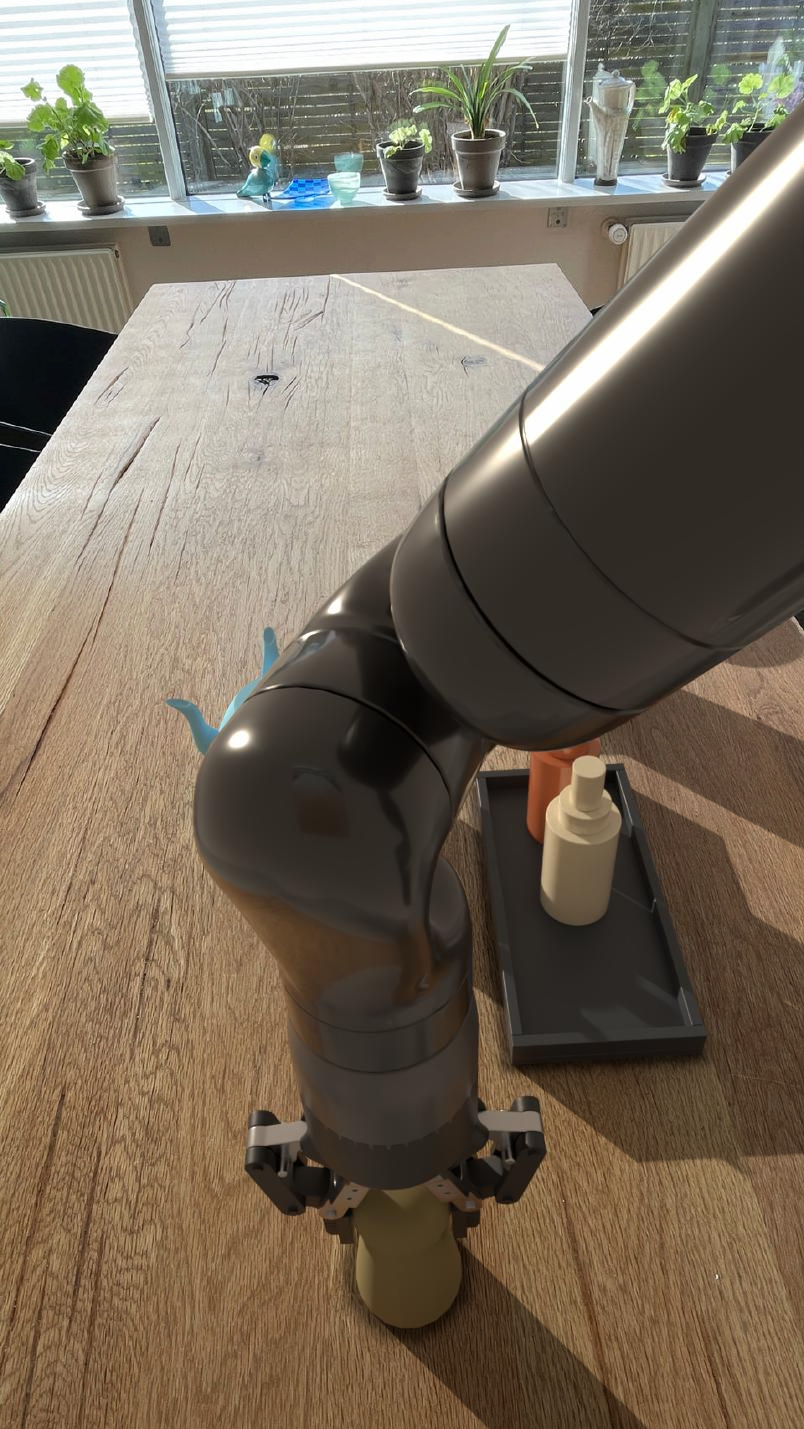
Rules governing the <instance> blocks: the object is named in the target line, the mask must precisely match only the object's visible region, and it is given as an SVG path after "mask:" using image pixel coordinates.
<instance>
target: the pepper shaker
mask: <svg viewBox="0 0 804 1429" xmlns="http://www.w3.org/2000/svg"><path fill="white" fill-rule="evenodd" d="M350 1211H351V1215H352V1219H353V1222H354V1225H355V1230H356V1232H357V1233H358V1234H359V1239H358V1245H357V1252H356V1264H355V1280H356V1284H357V1287H358V1292H359V1295H360V1297H361V1299H362V1301H363V1302H364V1304H365V1305H366V1307H367V1308H368V1310H369V1311H370V1313H371V1314H373V1315H374V1316H376V1318H378V1319H379V1320H380V1321H381V1322H382V1323H384V1324H387V1325H390V1326H393V1327H395V1328H399V1329H419V1328H421V1327H424V1326H426V1325H429V1324H432V1323H434V1322H436V1321H437V1320H438V1319H439V1318H441V1316H443V1315H444V1314H445V1313H446V1312H448V1310H449V1309H450V1308H451V1306H452V1305H453V1302H454V1301H455V1299H456V1298H457V1295H458V1293H459V1290H460V1287H461V1281H462V1277H463V1268H462V1255H461V1252H460V1250H459V1247H458V1244H457V1242H456V1238H454V1237H453V1230H452V1227H451V1225H450V1220H451V1216H452V1202H447V1203H442V1202H441V1201H440V1200H439V1199H438V1198H437V1197H436V1196H435V1195H434V1194H433V1193H432V1192H431V1191H430V1190H429V1189H428V1188H427V1187H426V1186H425V1185H423V1186H419V1185H418V1186H415V1187H412V1188H407V1189H402V1190H377V1189H370V1190H369V1191H368V1193H367V1194H366V1195H365V1197H364V1198H363V1200H362V1201H361V1202H360V1204H359V1205H358V1207H357V1208H350Z"/></svg>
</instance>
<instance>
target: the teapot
mask: <svg viewBox="0 0 804 1429" xmlns="http://www.w3.org/2000/svg"><path fill="white" fill-rule="evenodd" d="M280 655H281V654H280V652H279V649H278V642H277V637H276V632H275V630H274V629H273V627H271V626H267V627H265V628H264V629H263V633H262V663H261V664H262V665H261V673H260V677H258V678H256V679H254V680H252V681H250V682H248V683H247V684H246V685H244V686H243V687H242V688H241V689H240V690H239V691H238V692H237V693H236V695H234V698H233V699H232V701H231V703H230V704H229V706H228V708H227V710H226V711H225V713H224V716H223V718H222V720H221V722H220V726H219V729H218V728H215V727H212V726H210V725H209V724H207V722H206V721H205V719H204V716H203V713H202V712H201V710H200V709H199V707H198V706H197V705H196V704H194V703H193V702H192V701H189V700H186V699H182V698H168V699H166V700H165V703H166V705H167V706H169V707H171V708H173V709H175V710H177V711H179V712H180V713H181V714H182V715H183V716H184V717H185V719H186V720H187V723H188V725H189V728H190V733H191V736H192V739H193V742H194V744H195V746H196V748H197V750H198V751H199V752H200V753H201V755H202V756H203V757H204V756H205V754H206V752H207V750H208V748H209V747H210V745H211V743H212V742H213V740H214V739H215V737H216V736H217V735H218V733H219V732H220V731H221V729H222V728H223V727H224V726H225V724H226V723H227V722H228V721H229V719H230V718H231V717H232V715H233V714H234V713H235V712H236V710H237V709H238V708H239V707H240V706H241V705H242V704H243V703H244V701H245V700H246V699H247V697H248V696H249V695H250V693H251V692H252V691H253V690H254V688H255V687H256V686H257V684H258V683H259V682H260V680H261V679H262V678H263V677H264V675H265V674H266V673H267V671H268V670H269V669H270V667H271V666H272V665H273V664H274V662H275V661H276V660H277V658H278V657H279V656H280Z"/></svg>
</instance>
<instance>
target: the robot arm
mask: <svg viewBox="0 0 804 1429" xmlns="http://www.w3.org/2000/svg"><path fill="white" fill-rule="evenodd" d="M802 611H804V98H803V99H802V100H801V101H800V102H799V103H798V104H797V106H796V107H795V108H794V109H793V110H792V111H791V112H790V113H789V114H788V115H786V117H785V118H784V119H783V120H782V121H781V122H780V123H779V124H778V125H777V126H776V127H775V128H774V129H773V130H772V132H770V133H769V134H768V136H766V137H765V139H763V141H762V142H761V143H760V144H759V145H757V147H756V148H755V149H754V150H753V151H752V152H751V153H750V154H749V155H748V156H747V157H746V158H745V160H743V161H742V162H741V163H740V165H738V166H737V168H736V169H735V170H734V171H733V172H732V173H731V174H730V175H729V176H728V177H727V178H726V179H725V180H724V181H723V182H722V183H721V184H720V185H719V186H718V187H717V188H716V189H715V190H714V191H713V192H712V193H711V194H710V195H709V196H708V197H707V198H706V200H705V201H704V202H703V203H701V205H700V206H698V208H696V210H694V212H693V213H692V214H691V215H690V216H689V217H688V218H687V219H686V220H685V221H684V222H682V224H681V225H680V226H679V227H678V228H677V229H676V230H675V231H674V232H673V233H672V234H671V235H670V236H669V237H668V239H666V241H664V242H663V244H662V245H661V246H660V247H658V249H657V250H656V251H654V253H652V255H651V256H650V257H649V258H648V259H647V260H646V261H645V262H644V263H643V264H642V265H641V266H640V267H639V268H638V270H636V271H635V272H634V273H633V274H632V276H631V277H630V278H629V279H628V280H627V281H626V282H625V283H624V284H623V285H622V286H621V287H620V288H619V289H618V290H617V291H616V292H615V293H614V294H613V296H612V297H610V298H609V300H608V301H607V302H606V303H605V304H604V305H603V306H602V307H601V308H600V309H599V310H598V311H597V312H596V313H595V314H594V315H593V316H592V317H591V318H590V320H589V321H588V322H587V323H586V324H585V325H584V326H583V327H582V328H581V329H580V330H579V331H578V332H577V333H576V335H574V336H573V338H572V339H571V340H570V341H569V342H568V343H567V344H566V345H565V346H564V347H563V348H562V349H561V350H560V352H558V353H557V354H556V356H554V358H553V359H552V360H551V361H550V362H549V363H548V364H547V365H546V366H544V368H543V369H542V370H541V371H540V373H538V374H537V375H536V376H535V378H534V379H533V381H532V382H530V384H528V386H527V387H526V388H525V389H524V390H523V391H522V392H521V393H520V394H519V395H518V397H516V398H515V399H514V400H513V402H512V403H511V404H510V405H509V406H508V407H507V408H506V410H505V411H504V412H503V413H502V414H501V415H500V416H499V417H498V418H497V419H496V421H495V422H493V424H492V425H491V426H490V427H489V428H488V429H487V430H486V431H485V433H484V434H483V435H482V436H481V437H480V438H479V439H478V440H477V441H476V443H475V444H473V445H472V447H471V448H469V450H468V451H467V452H466V453H465V455H464V456H463V457H462V458H461V459H459V461H458V462H457V463H456V464H455V465H454V467H453V468H452V469H451V470H450V471H449V473H448V474H447V475H446V476H445V477H444V479H443V480H442V481H441V482H440V483H439V484H438V486H437V487H436V488H435V489H434V490H433V492H432V493H431V494H430V495H429V496H428V497H427V499H426V501H425V502H424V504H422V506H421V508H420V509H419V510H418V512H417V513H416V515H415V516H414V517H413V519H412V521H411V522H410V523H409V525H408V526H407V527H406V528H404V530H402V531H401V532H400V533H399V534H398V535H396V536H395V537H394V538H393V539H392V540H390V541H389V542H388V543H387V544H385V546H384V547H382V548H381V549H380V550H379V551H378V552H376V553H375V554H374V555H372V556H371V557H370V558H369V559H368V560H367V561H366V562H365V563H364V564H362V565H361V566H360V567H359V568H358V569H357V570H356V571H355V572H353V574H352V575H351V576H350V577H348V579H346V580H345V581H344V583H342V584H341V585H340V586H339V587H338V588H337V589H336V590H335V591H334V592H333V593H332V594H331V596H329V597H328V598H327V599H326V601H325V602H324V603H323V604H321V606H320V607H319V608H318V609H317V610H316V611H315V612H314V614H313V615H312V616H310V618H309V619H308V620H307V621H306V622H305V624H304V625H303V626H301V628H300V630H299V631H298V632H297V634H296V635H294V637H293V638H292V639H291V640H290V642H289V643H288V644H287V645H286V647H285V648H284V649H283V650H282V652H281V653H280V654H279V655H280V656H279V657H278V658H277V660H276V661H275V662H274V664H273V665H272V666H271V667H270V669H269V670H268V671H267V673H266V674H265V675H264V677H263V678H262V679H261V680H260V682H259V683H258V684H257V686H256V687H255V688H254V690H253V691H252V692H251V693H250V695H249V696H248V697H247V699H246V700H245V701H244V703H243V704H242V705H241V706H240V707H239V708H238V709H237V710H236V712H235V713H234V714H233V715H232V717H231V718H230V719H229V721H228V722H227V723H226V724H225V726H224V727H223V728H222V729H221V731H220V732H219V733H218V735H217V736H216V737H215V739H214V740H213V742H212V743H211V745H210V747H209V748H208V750H207V752H206V754H205V756H204V755H203V758H202V760H201V762H200V765H199V768H198V771H197V774H196V777H195V783H194V788H193V798H192V811H191V812H192V818H191V820H192V822H191V823H192V832H193V839H194V843H195V848H196V852H197V855H198V856H199V859H200V861H201V863H202V866H203V867H204V869H205V870H206V872H207V874H208V875H209V877H210V878H211V879H212V881H213V882H214V883H215V885H216V886H217V887H218V888H219V889H220V891H221V892H222V893H223V894H224V895H225V897H226V898H227V899H228V900H229V902H231V903H232V905H233V906H234V907H235V908H236V909H237V911H238V912H239V913H240V914H241V915H242V917H243V918H244V919H245V921H246V922H247V924H248V925H249V926H250V927H251V929H252V930H253V932H254V933H255V934H256V936H257V937H258V938H259V940H260V941H261V943H262V944H263V945H264V947H265V948H266V950H267V951H268V952H269V953H270V955H271V956H272V957H273V959H274V960H275V961H276V964H277V965H276V966H277V969H278V975H279V978H280V984H281V989H282V992H283V997H284V1002H285V1005H286V1006H285V1007H286V1010H287V1011H286V1034H287V1044H288V1050H289V1054H290V1059H291V1063H292V1067H293V1072H294V1076H295V1081H296V1085H297V1089H298V1093H299V1097H300V1102H301V1107H302V1111H303V1112H302V1113H301V1116H300V1120H296V1121H290V1122H289V1121H286V1120H285V1121H280V1120H279V1119H278V1117H277V1116H276V1114H275V1113H274V1112H272V1111H270V1110H267V1109H257V1110H252V1111H251V1112H250V1113H249V1115H248V1124H247V1134H246V1145H245V1154H244V1165H243V1170H244V1171H245V1172H246V1173H247V1174H248V1176H249V1177H250V1178H251V1179H252V1181H254V1183H255V1184H256V1185H257V1186H258V1187H259V1189H260V1190H261V1191H262V1192H263V1193H264V1195H265V1196H266V1197H267V1198H268V1199H269V1200H270V1201H271V1203H272V1204H273V1205H274V1206H275V1208H277V1209H278V1211H279V1212H280V1213H281V1214H282V1215H284V1216H288V1217H289V1216H290V1217H297V1216H301V1215H304V1214H305V1213H306V1211H307V1210H306V1208H307V1207H309V1208H314V1209H317V1210H318V1216H319V1217H320V1218H321V1219H322V1221H323V1225H324V1229H325V1232H326V1233H327V1234H328V1235H330V1236H338V1238H339V1239H338V1240H339V1243H340V1245H355V1241H356V1240H355V1236H356V1231H355V1230H356V1228H355V1225H354V1222H353V1219H352V1215H351V1211H350V1208H357V1207H358V1205H359V1204H360V1202H361V1201H362V1200H363V1198H364V1197H365V1195H366V1194H367V1193H368V1191H369V1190H370V1189H377V1190H402V1189H407V1188H412V1187H415V1186H418V1185H419V1186H423V1185H425V1186H426V1187H427V1188H428V1189H429V1190H430V1191H431V1192H432V1193H433V1194H434V1195H435V1196H436V1197H437V1198H438V1199H439V1200H440V1201H441V1202H442V1203H447V1202H452V1211H451V1222H452V1233H453V1237H454V1239H466V1238H468V1229H470V1228H471V1229H472V1228H473V1229H474V1228H477V1227H478V1226H479V1225H480V1224H481V1210H482V1208H483V1207H484V1203H483V1202H484V1200H486V1199H489V1198H493V1197H494V1201H495V1203H497V1204H499V1205H506V1206H507V1205H513V1204H516V1203H518V1202H520V1200H521V1198H522V1197H523V1195H524V1193H525V1192H526V1190H527V1189H528V1187H529V1184H530V1183H531V1181H532V1180H533V1178H534V1177H535V1174H536V1173H537V1171H538V1169H539V1167H540V1166H541V1165H542V1162H543V1161H544V1159H545V1157H546V1156H547V1153H548V1151H547V1145H546V1139H545V1138H546V1137H545V1130H544V1123H543V1117H542V1113H541V1106H540V1105H541V1104H540V1099H539V1098H538V1097H536V1096H533V1095H522V1096H518V1097H516V1098H515V1099H514V1100H513V1102H512V1104H511V1106H510V1108H509V1109H507V1108H504V1109H501V1110H489V1109H488V1108H487V1106H486V1104H485V1102H484V1101H483V1100H482V1099H481V1098H480V1097H479V1051H480V1049H479V1048H480V1047H479V1046H480V1021H479V1010H478V1005H477V1000H476V999H477V998H476V994H475V992H474V987H473V984H474V982H473V980H474V979H473V976H474V974H473V973H474V972H473V971H474V931H473V930H474V926H473V917H472V911H471V906H470V901H469V896H468V892H467V890H466V887H465V884H464V882H463V879H462V878H461V875H460V873H459V872H458V870H457V869H456V867H455V866H454V864H453V862H451V860H450V859H449V857H447V856H446V855H445V854H444V853H443V851H444V848H445V847H446V845H447V842H448V840H449V837H450V836H451V832H452V831H453V828H454V826H455V824H456V822H457V820H458V817H459V815H460V813H461V811H462V809H463V807H464V805H465V802H466V801H467V798H468V796H469V794H470V793H471V790H472V788H473V786H474V784H475V780H476V778H477V775H478V773H479V771H481V769H482V766H483V764H484V762H485V761H486V759H487V758H488V757H489V755H490V754H491V753H492V752H493V751H494V749H495V748H496V747H497V746H500V747H503V748H507V749H510V750H516V751H520V752H528V753H529V752H530V753H531V752H549V751H558V750H564V749H568V748H571V747H575V746H578V745H582V744H584V743H587V742H589V741H591V740H594V739H596V738H598V739H599V738H601V737H602V736H605V735H606V734H608V733H611V732H612V731H615V730H616V729H618V728H620V727H622V726H624V725H625V724H627V723H628V722H631V721H632V720H633V719H635V718H637V717H639V716H640V715H642V714H643V713H645V712H647V711H649V710H651V709H652V708H653V707H655V706H656V705H657V704H659V703H660V702H662V701H663V700H665V699H667V698H668V697H670V696H672V695H673V694H674V693H676V692H678V691H679V690H680V689H682V688H684V687H685V686H687V685H689V684H690V683H692V682H694V681H695V680H696V679H698V678H699V677H701V676H703V675H704V674H706V673H707V672H709V671H711V670H712V669H714V668H715V667H717V666H718V665H720V664H721V663H723V662H724V661H726V660H728V659H729V658H731V657H733V656H734V655H736V654H737V653H738V652H740V651H742V650H744V649H745V648H747V647H748V646H749V645H751V644H753V643H755V642H757V641H759V640H760V639H761V638H764V636H766V635H767V634H769V633H770V632H772V631H774V630H775V629H777V628H778V627H780V626H781V625H783V624H784V623H785V622H787V621H789V620H790V619H791V618H793V617H795V616H796V615H798V614H800V613H801V612H802ZM489 1141H491V1142H492V1144H491V1146H490V1148H489V1155H488V1156H483V1157H479V1154H478V1152H480V1151H481V1150H482V1149H484V1148H485V1147H486V1145H487V1143H488V1142H489ZM308 1159H309V1160H311V1161H312V1162H314V1163H316V1164H318V1165H320V1166H314V1165H313V1166H312V1165H308Z"/></svg>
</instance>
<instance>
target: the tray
mask: <svg viewBox="0 0 804 1429" xmlns="http://www.w3.org/2000/svg"><path fill="white" fill-rule="evenodd" d="M605 765H606V775H605V782H604V789H605V790H606V791H607V792H608V793H609V795H610V797H611V799H612V802H613V803H614V804H615V805H616V807H617V808H618V810H619V812H620V814H621V819H622V823H621V830H620V836H619V843H618V849H617V856H616V862H615V869H614V875H613V882H612V888H611V894H610V901H609V906H608V909H607V911H606V913H605V914H604V915H603V916H602V917H601V918H600V919H599V920H597V921H596V922H593V923H591V924H588V925H582V926H573V925H568V924H564V923H561V922H559V921H557V920H555V919H554V918H552V917H551V916H550V915H549V914H548V913H547V912H546V911H545V910H544V908H543V906H542V904H541V901H540V883H541V871H542V858H543V845H542V844H540V843H539V842H537V841H536V840H535V839H534V838H533V837H532V836H531V835H530V833H529V832H528V829H527V825H526V820H527V803H528V786H529V769H530V767H529V768H511V769H496V770H495V769H494V770H493V769H492V770H480V771H479V773H478V775H477V778H476V780H475V782H474V784H475V786H474V788H475V790H474V791H475V798H476V806H477V813H478V820H479V821H478V822H479V828H480V835H481V836H480V838H481V844H482V851H483V859H484V867H485V873H486V874H485V875H486V881H487V882H486V883H487V889H488V890H487V891H488V898H489V904H490V911H491V920H492V926H493V935H494V942H495V949H496V956H497V957H496V958H497V964H498V972H499V980H500V988H501V994H502V995H501V996H502V1003H503V1010H504V1017H505V1018H504V1019H505V1024H506V1025H505V1026H506V1032H507V1040H508V1047H509V1048H508V1049H509V1054H510V1062H511V1065H512V1066H517V1065H534V1064H551V1063H552V1064H553V1063H571V1062H590V1061H591V1062H592V1061H606V1060H607V1061H609V1060H626V1059H643V1058H659V1057H662V1058H663V1057H679V1056H681V1057H682V1056H697V1055H698V1056H699V1055H702V1054H703V1052H704V1048H705V1045H706V1042H707V1039H708V1033H707V1030H706V1026H705V1024H704V1021H703V1017H702V1014H701V1011H700V1008H699V1005H698V1001H697V997H696V994H695V991H694V988H693V985H692V982H691V978H690V975H689V972H688V968H687V965H686V962H685V959H684V955H683V953H682V950H681V946H680V943H679V940H678V936H677V933H676V930H675V927H674V924H673V920H672V917H671V914H670V911H669V906H668V904H667V901H666V898H665V893H664V891H663V887H662V885H661V881H660V878H659V874H658V872H657V867H656V865H655V862H654V858H653V855H652V851H651V849H650V845H649V843H648V842H649V841H648V838H647V836H646V832H645V829H644V826H643V823H642V819H641V816H640V812H639V810H638V807H637V804H636V803H637V802H636V800H635V797H634V793H633V791H632V790H633V789H632V787H631V783H630V780H629V777H628V773H627V771H626V767H625V764H624V762H619V763H618V762H617V763H605Z"/></svg>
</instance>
